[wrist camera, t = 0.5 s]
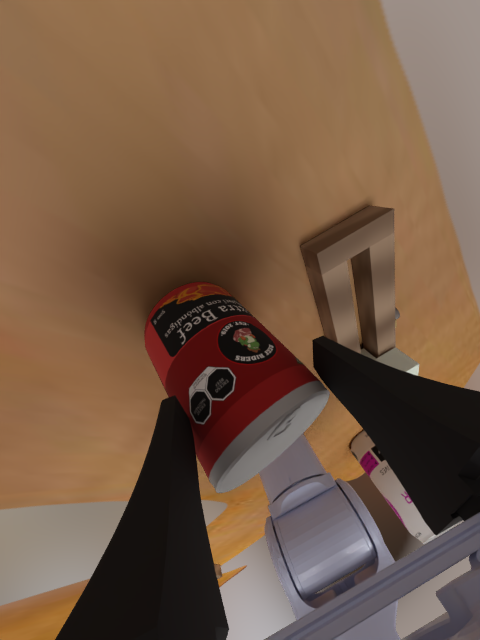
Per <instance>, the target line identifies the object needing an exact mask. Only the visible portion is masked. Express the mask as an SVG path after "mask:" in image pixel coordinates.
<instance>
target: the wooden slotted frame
mask: <svg viewBox="0 0 480 640" xmlns="http://www.w3.org/2000/svg"><path fill="white" fill-rule="evenodd" d="M300 248H301V251H302V255H303V258H304V262H305V266H306V269H307V273H308V276H309V280H310V283H311V287H312V291H313V294H314V298H315V301H316V305H317V308H318V312H319V316H320V319H321V323H322V326H323V330H324V333H325V337H327V338H329V339H331V340H333V341H335V342H337V343H339V344H341V345H343V346H345V347H347V348H349V349H351V350H353V351H356V352H358V353H360V354H361V350H360V344H359V337H358V330H357V324H356V317H355V311H354V304H353V298H352V291H351V285H350V278H349V272H348V265H347V260H348V259H350V258H351V261H352V268H353V275H354V282H355V289H356V297H357V304H358V311H359V318H360V325H361V333H362V340H363V347H364V349H365V350H366V351H368V352H369V353H370V354H371V355H373V356H374V357H375V358H376V359H377V358H378V357H380V356H382V355H383V354H385V353H387V352H388V351H390V350H392V349H393V348H395V327H396V319H397V318H399V317H400V314H399V311H398V310H397V309H396V308H395V252H394V209H392V208H384V207H377V206H368V207H366V208H365V209H363V210H361V211H359V212H358V213H356V214H354V215H353V216H351V217H349V218H347V219H346V220H344V221H342V222H341V223H339V224H337V225H335V226H334V227H332V228H330V229H329V230H327V231H325V232H323V233H322V234H320V235H318V236H317V237H315V238H313V239H312V240H310V241H308V242H306V243H305V244H303V245H301V246H300Z"/></svg>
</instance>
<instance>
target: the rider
mask: <svg viewBox="0 0 480 640" xmlns="http://www.w3.org/2000/svg"><path fill="white" fill-rule="evenodd" d="M361 354H362V355H364V356H367V357H369V358H371V359H373V360H376V361H378V362H381V363H383V364H386V365H388V366H391V367H393V368H396V369H399V370H402V371H405V372H408V373H411V374H414V375H417V376H419V375H418V371H419V363H417V362H416V361H414V360H413V359H411V358H410V357H409V356H407V355H406V354H404V353H403V352H401V351H400V350H399V349H397V348H396V347H395V348H393V349H392V350H390V351H388V352H387V353H385V354H383V355H382V356H380V357H378V358H377V359H376V358H375V357H374V356H373V355H371V354H370V353H369V352H368V351H366V350H365V349H364V348H363V349H361Z"/></svg>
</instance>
